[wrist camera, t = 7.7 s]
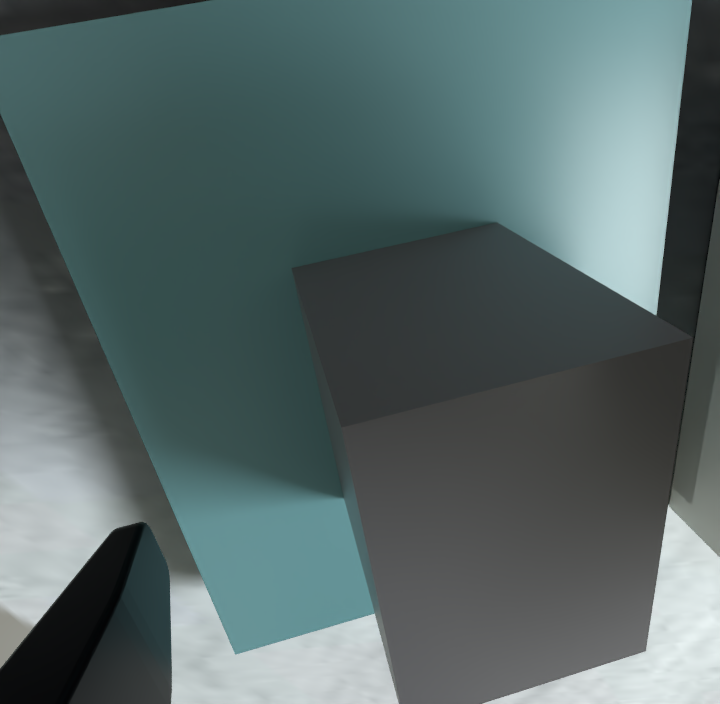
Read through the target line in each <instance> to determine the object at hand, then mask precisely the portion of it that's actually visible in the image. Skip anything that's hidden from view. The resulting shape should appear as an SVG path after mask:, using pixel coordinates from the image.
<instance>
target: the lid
mask: <svg viewBox="0 0 720 704" xmlns="http://www.w3.org/2000/svg"><path fill="white" fill-rule="evenodd" d="M691 6H692V0H210V1H204V2H198V3H192V4H186V5H180V6H174V7H168V8H162V9H156V10H150V11H144V12H138V13H132V14H126V15H120V16H114V17H108V18H102V19H96V20H90V21H84V22H78V23H72V24H66V25H60V26H54V27H48V28H42V29H36V30H30V31H23V32H17V33H11V34H5V35H0V114H1V116H2V119H3V121H4V123H5V126H6V128H7V130H8V133H9V135H10V137H11V139H12V142H13V144H14V146H15V149H16V151H17V153H18V156H19V158H20V160H21V162H22V165H23V167H24V169H25V172H26V174H27V176H28V179H29V181H30V183H31V185H32V188H33V190H34V192H35V195H36V197H37V199H38V202H39V204H40V206H41V208H42V211H43V213H44V215H45V218H46V220H47V222H48V225H49V227H50V229H51V231H52V234H53V236H54V238H55V241H56V243H57V245H58V248H59V250H60V252H61V254H62V257H63V259H64V261H65V264H66V266H67V268H68V271H69V273H70V275H71V277H72V280H73V282H74V284H75V287H76V289H77V291H78V294H79V296H80V298H81V300H82V303H83V305H84V307H85V310H86V312H87V314H88V317H89V319H90V321H91V323H92V326H93V328H94V330H95V333H96V335H97V337H98V340H99V342H100V344H101V346H102V349H103V351H104V353H105V356H106V358H107V360H108V363H109V365H110V367H111V369H112V372H113V374H114V376H115V379H116V381H117V383H118V386H119V388H120V390H121V392H122V395H123V397H124V399H125V402H126V404H127V406H128V408H129V411H130V413H131V415H132V418H133V420H134V422H135V425H136V427H137V429H138V431H139V434H140V436H141V438H142V441H143V443H144V445H145V448H146V450H147V452H148V454H149V457H150V459H151V461H152V464H153V466H154V468H155V471H156V473H157V475H158V477H159V480H160V482H161V484H162V487H163V489H164V491H165V494H166V496H167V498H168V500H169V503H170V505H171V507H172V510H173V512H174V514H175V517H176V519H177V521H178V523H179V526H180V528H181V530H182V533H183V535H184V537H185V540H186V542H187V544H188V546H189V549H190V551H191V553H192V556H193V558H194V560H195V563H196V565H197V567H198V569H199V572H200V574H201V576H202V579H203V581H204V583H205V586H206V588H207V590H208V592H209V595H210V597H211V599H212V602H213V604H214V606H215V609H216V611H217V613H218V615H219V618H220V620H221V622H222V625H223V627H224V629H225V632H226V634H227V636H228V638H229V641H230V643H231V645H232V648H233V650H234V652H235V655H236V654H239V653H242V652H246V651H249V650H252V649H256V648H259V647H263V646H266V645H269V644H273V643H276V642H280V641H283V640H286V639H290V638H293V637H296V636H300V635H303V634H307V633H310V632H313V631H317V630H320V629H324V628H327V627H330V626H334V625H337V624H340V623H344V622H347V621H351V620H354V619H357V618H361V617H364V616H368V615H371V614H374V613H375V616H376V620H377V623H378V627H379V631H380V635H381V638H382V642H383V646H384V650H385V653H386V657H387V661H388V664H389V668H390V672H391V676H392V679H393V683H394V687H395V691H396V694H397V698H398V702H399V704H482V703H485V702H488V701H491V700H495V699H498V698H501V697H504V696H507V695H510V694H513V693H516V692H520V691H523V690H526V689H529V688H532V687H535V686H538V685H541V684H545V683H548V682H551V681H554V680H557V679H560V678H563V677H566V676H569V675H573V674H576V673H579V672H582V671H585V670H588V669H591V668H594V667H598V666H601V665H604V664H607V663H610V662H613V661H616V660H619V659H623V658H626V657H629V656H632V655H635V654H638V653H641V652H644V651H646V645H647V639H648V632H649V626H650V619H651V613H652V606H653V599H654V593H655V586H656V580H657V573H658V567H659V560H660V553H661V547H662V540H663V534H664V527H665V521H666V514H667V507H668V501H669V494H670V488H671V481H672V475H673V468H674V462H675V455H676V448H677V442H678V435H679V429H680V422H681V416H682V409H683V402H684V396H685V389H686V383H687V376H688V370H689V363H690V356H691V350H692V343H693V337H692V336H690V335H688V334H686V333H685V332H683V331H681V330H680V329H678V328H676V327H675V326H673V325H671V324H669V323H668V322H666V321H664V320H663V319H661V318H659V317H658V316H656V314H657V306H658V297H659V288H660V279H661V270H662V261H663V253H664V244H665V235H666V226H667V217H668V208H669V200H670V191H671V182H672V173H673V164H674V156H675V147H676V138H677V129H678V120H679V111H680V103H681V94H682V85H683V76H684V67H685V59H686V50H687V41H688V32H689V23H690V14H691Z"/></svg>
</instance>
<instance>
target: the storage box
mask: <svg viewBox="0 0 720 704" xmlns="http://www.w3.org/2000/svg"><path fill="white" fill-rule="evenodd" d="M669 507H670V508H671V509H672V510H673V511H674V512H675V513H676V514H677V515H678V516H679V517H680V518H681V519H682V520H683V521H684V522H685V523H686V524H687V525H688V526H689V527H690V528H691V529H692V530H693V531H694V532H695V533H696V534H697V535H698V536H699V537H700V538H701V539H702V540H703V541H704V542H705V543H706V544H707V545H708V546H709V547H710V548H711V549H712V550H713V551H714V552H715V553H716V554H717V555H718V556H719V557H720V180H719V186H718V193H717V199H716V205H715V212H714V218H713V225H712V231H711V238H710V244H709V251H708V257H707V264H706V270H705V277H704V283H703V290H702V296H701V303H700V309H699V316H698V322H697V329H696V335H695V341H694V348H693V354H692V361H691V367H690V374H689V380H688V387H687V393H686V400H685V406H684V413H683V419H682V426H681V432H680V439H679V445H678V452H677V458H676V465H675V471H674V477H673V484H672V490H671V497H670V503H669Z"/></svg>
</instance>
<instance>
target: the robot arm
mask: <svg viewBox="0 0 720 704" xmlns="http://www.w3.org/2000/svg"><path fill="white" fill-rule="evenodd" d="M171 693H172V661H171V617H170V578H169V570H168V566H167V563H166V560H165V558H164V556H163V554H162V552H161V550H160V548H159V545H158V543H157V541H156V539H155V537H154V535H153V533H152V531H151V529H150V527H149V526H148V525H147V524H146V523H144V522H138V523H135V524H131V525H127V526H123V527H119V528H117V529H115V530H113V531H112V532H111V533H110V534H109V536H108V537H107V538H106V539H105V540H104V542H103V543H102V544H101V545H100V547H99V548H98V549H97V550H96V552H95V553H94V554H93V555H92V556H91V558H90V559H89V560H88V561H87V563H86V564H85V565H84V566H83V568H82V569H81V570H80V571H79V572H78V574H77V575H76V576H75V577H74V579H73V580H72V581H71V582H70V583H69V585H68V586H67V587H66V588H65V590H64V591H63V592H62V593H61V595H60V596H59V597H58V598H57V599H56V601H55V602H54V603H53V604H52V606H51V607H50V608H49V609H48V611H47V612H46V613H45V614H44V615H43V617H42V618H41V619H40V620H39V622H38V623H37V624H36V625H35V627H34V628H33V629H32V630H31V631H30V633H29V634H28V635H27V637H26V638H25V639H24V640H23V641H22V642H21V644H20V645H19V646H18V647H17V649H16V650H15V651H14V652H13V654H12V655H11V656H10V657H9V659H8V660H7V661H6V662H5V664H4V665H3V666H2V667H1V668H0V704H171Z"/></svg>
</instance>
